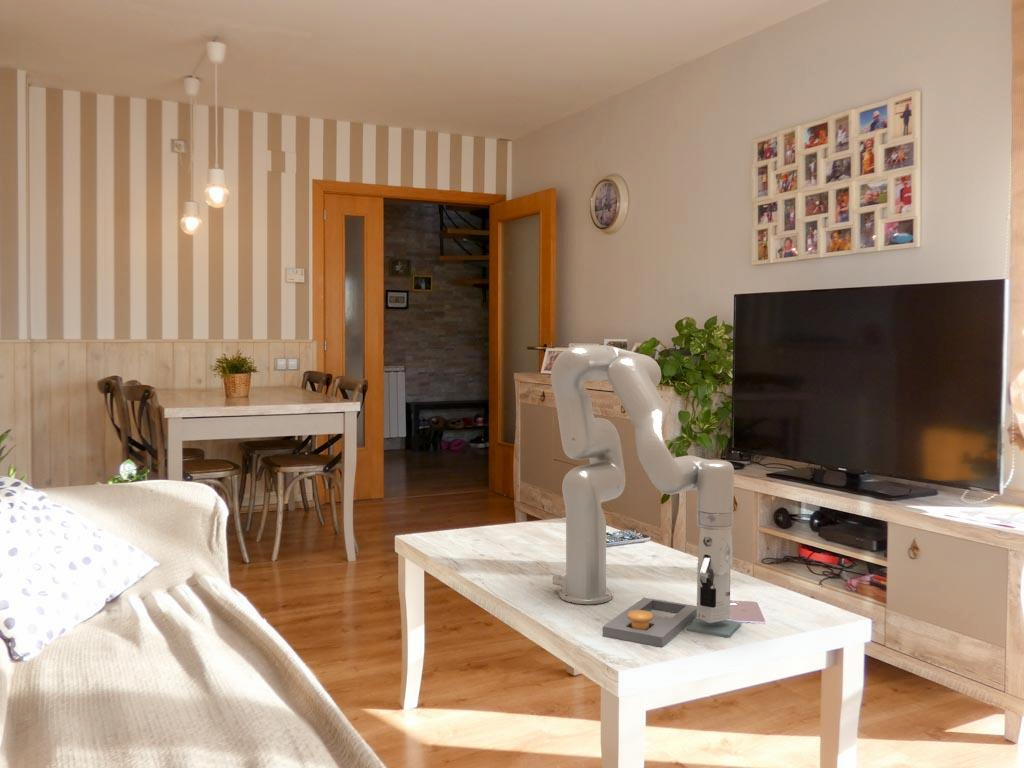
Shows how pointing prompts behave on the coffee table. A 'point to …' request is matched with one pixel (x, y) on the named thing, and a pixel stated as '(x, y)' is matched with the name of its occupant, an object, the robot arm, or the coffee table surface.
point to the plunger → (640, 619)
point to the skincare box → (722, 599)
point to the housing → (652, 623)
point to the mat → (714, 627)
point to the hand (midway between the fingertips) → (713, 600)
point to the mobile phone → (746, 612)
